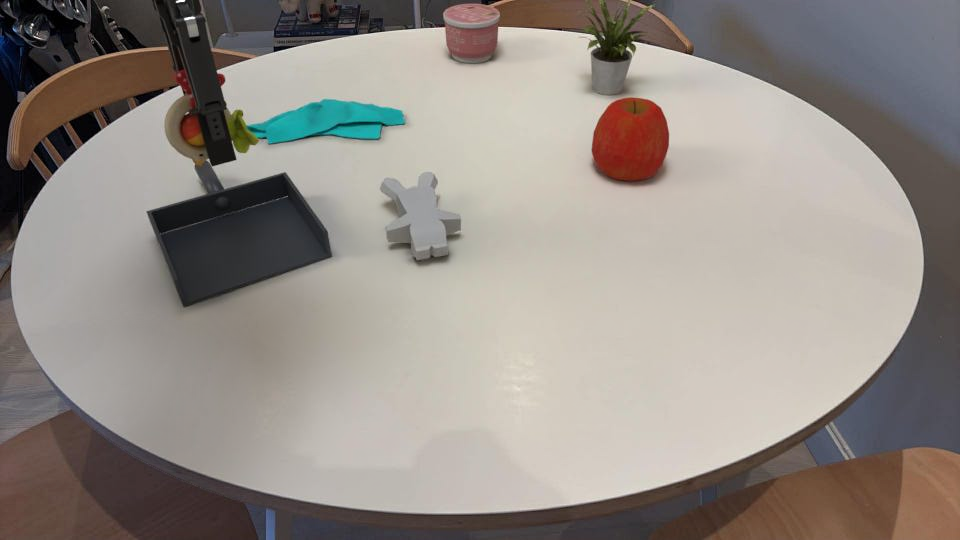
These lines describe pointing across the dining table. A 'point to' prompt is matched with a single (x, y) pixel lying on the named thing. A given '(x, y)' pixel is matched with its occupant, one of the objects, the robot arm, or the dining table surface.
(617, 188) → the dining table surface
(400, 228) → the bunny figurine
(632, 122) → the apple
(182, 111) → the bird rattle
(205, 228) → the scoop
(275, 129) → the cloth
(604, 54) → the house plant
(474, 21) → the container
